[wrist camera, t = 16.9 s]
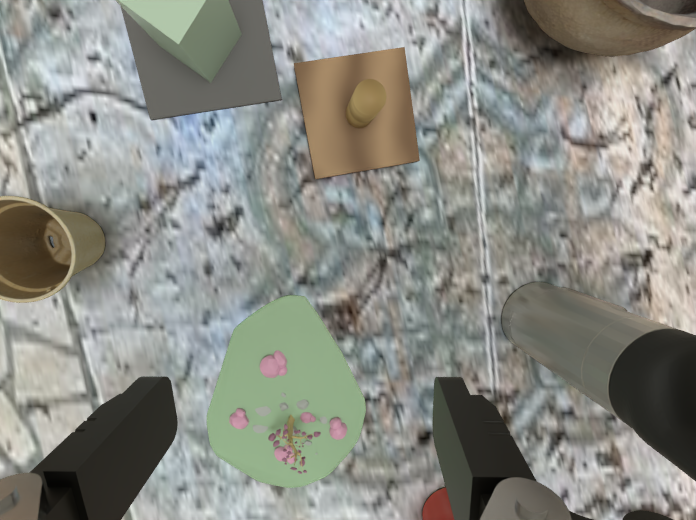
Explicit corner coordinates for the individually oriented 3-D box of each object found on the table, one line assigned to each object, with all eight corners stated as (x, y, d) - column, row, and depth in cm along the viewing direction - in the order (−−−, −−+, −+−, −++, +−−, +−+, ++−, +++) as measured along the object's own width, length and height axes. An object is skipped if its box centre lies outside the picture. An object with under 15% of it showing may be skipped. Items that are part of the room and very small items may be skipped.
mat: (254, -43, 38) (253, -45, 37) (281, 100, 40) (281, 99, 40) (114, -26, 37) (112, -28, 36) (151, 120, 39) (150, 119, 39)
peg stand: (400, 52, 41) (425, 15, 33) (415, 161, 43) (441, 153, 35) (294, 68, 40) (291, 34, 32) (315, 179, 42) (317, 174, 34)
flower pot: (89, 180, 40) (30, 176, 31) (139, 256, 41) (96, 271, 33) (11, 221, 39) (-70, 228, 31) (65, 295, 41) (2, 321, 33)
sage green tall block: (190, -5, 37) (149, -78, 28) (241, 34, 38) (219, -22, 29) (159, 45, 38) (107, -8, 28) (210, 83, 39) (178, 44, 29)
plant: (175, 318, 44) (142, 349, 35) (344, 281, 45) (354, 302, 36) (228, 495, 48) (210, 562, 39) (380, 456, 50) (395, 513, 41)
